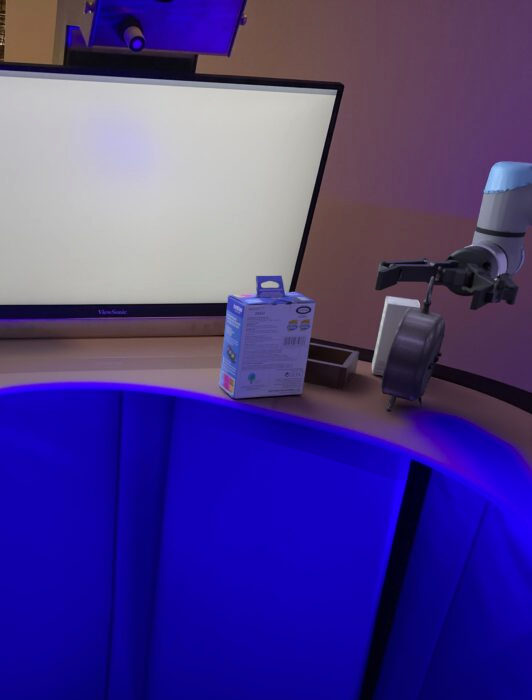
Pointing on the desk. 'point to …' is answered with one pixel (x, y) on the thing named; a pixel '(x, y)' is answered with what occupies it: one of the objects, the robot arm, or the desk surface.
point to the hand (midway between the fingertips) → (425, 290)
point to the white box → (389, 329)
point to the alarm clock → (413, 353)
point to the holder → (330, 365)
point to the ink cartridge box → (266, 341)
